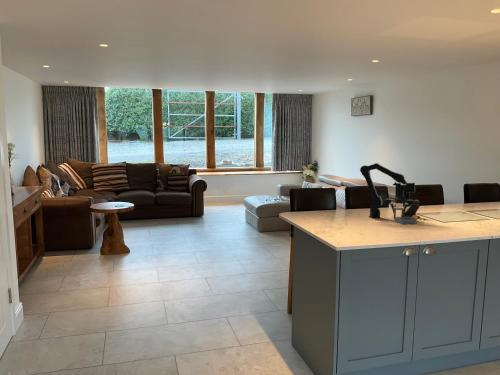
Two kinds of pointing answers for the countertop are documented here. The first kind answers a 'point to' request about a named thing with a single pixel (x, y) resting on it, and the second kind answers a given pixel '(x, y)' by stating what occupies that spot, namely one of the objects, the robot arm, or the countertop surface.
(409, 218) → the tray
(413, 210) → the sculpture
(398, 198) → the robot arm
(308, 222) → the countertop surface
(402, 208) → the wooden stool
